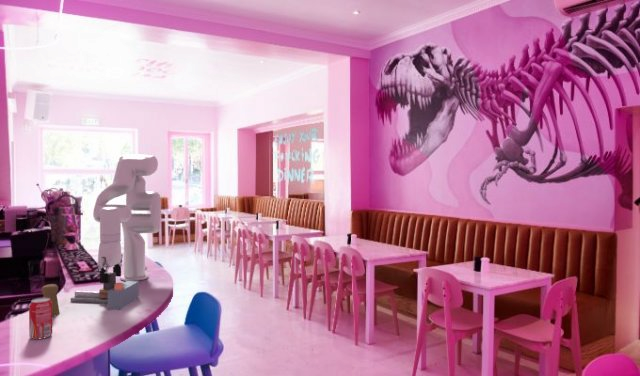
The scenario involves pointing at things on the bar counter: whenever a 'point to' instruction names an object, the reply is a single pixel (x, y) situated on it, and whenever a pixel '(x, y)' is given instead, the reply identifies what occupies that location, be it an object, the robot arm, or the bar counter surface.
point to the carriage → (107, 285)
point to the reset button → (118, 286)
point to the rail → (88, 297)
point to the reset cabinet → (123, 295)
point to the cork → (51, 297)
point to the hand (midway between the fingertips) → (110, 279)
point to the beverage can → (40, 318)
